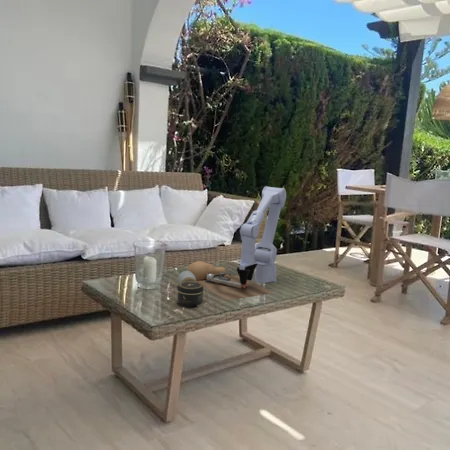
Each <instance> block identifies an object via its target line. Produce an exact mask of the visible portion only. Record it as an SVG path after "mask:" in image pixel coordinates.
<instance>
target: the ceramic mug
mask: <svg viewBox="0 0 450 450" xmlns="http://www.w3.org/2000/svg"><path fill="white" fill-rule="evenodd" d="M197 281H198V280H196V279H195V276H194V274H193V273H192V272H190V271H187V270H184V271H181V272H180V273H179V274H178V276H177V285H179V284H180V283H182V282H197Z"/></svg>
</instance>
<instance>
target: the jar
mask: <svg viewBox="0 0 450 450" xmlns="http://www.w3.org/2000/svg"><path fill="white" fill-rule="evenodd" d="M203 296H204V287H203V285H202V284H201V283H198V282H182V283H180V284H177V302H178V304H179V305H180V306H182V307H184V308H196V307H198V305H200V304H202V303H203Z"/></svg>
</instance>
